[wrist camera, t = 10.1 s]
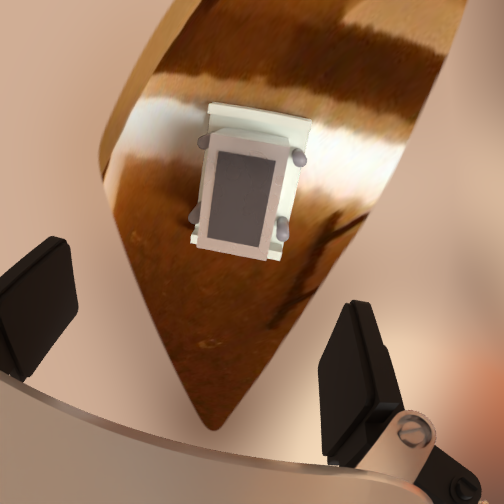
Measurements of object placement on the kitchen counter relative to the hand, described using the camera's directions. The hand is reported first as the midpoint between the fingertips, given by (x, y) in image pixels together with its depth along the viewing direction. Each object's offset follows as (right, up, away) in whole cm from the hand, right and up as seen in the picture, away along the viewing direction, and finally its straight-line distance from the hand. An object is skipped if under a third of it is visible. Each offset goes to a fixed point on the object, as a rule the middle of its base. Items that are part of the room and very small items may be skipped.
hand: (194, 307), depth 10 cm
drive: (+2, +8, +16) cm, 18 cm away
